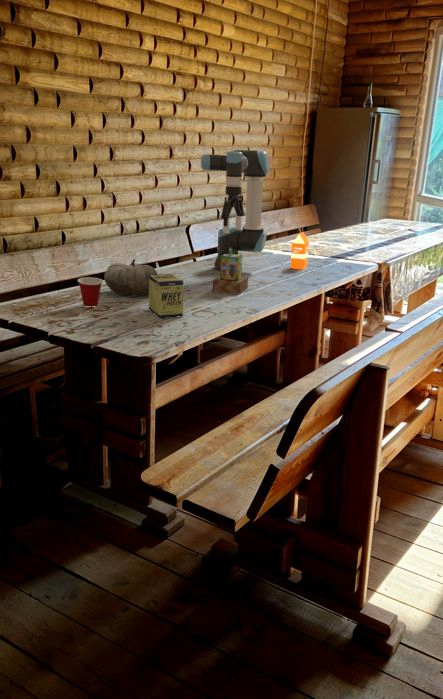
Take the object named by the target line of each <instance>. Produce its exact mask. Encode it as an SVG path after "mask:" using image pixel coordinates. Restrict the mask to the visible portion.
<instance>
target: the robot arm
mask: <svg viewBox="0 0 443 699" xmlns="http://www.w3.org/2000/svg"><path fill="white" fill-rule="evenodd" d="M269 159H270V158H269V155H268V153H267V152H266V151H265V150H256V149H255V150H252V149H251V150H249V149H248V150H247V149H237V150H230V151H225V152H223V153H218V154H217V153H215V154H209V153H206V154H205V153H204V154H202V156H201V158H200V166H201V169H202V170H203V171H214V172H216V171H217V172H218V171H219V172H221V171H222V172H226V173H225V185H226V186H225V195H228V196H225V197H224V202H223V207H222V210H221V211H222V212H221V216H220V218H221V219H222V220H223V221H222V222H223V223H222V225H223V226H222V228H220V229H219V230H218V233H217V255H216V258H215V260H214V265H213V268H214V270H217V271H220V270H221V256H222V255H224V254H230V253H231V251H230V253H229V249H230V248H231V249H232V253H233V254H237V255H239V252H250V253H261V252H262V251H263V250H264V249H265V244H266V240H267V231H265V230H264V229H265V228H264V226H263V225H262V213H263V212H262V211H263V210H262V208H263V207H262V206H263V205H262V204H263V185H264V179H266V177H267V175H268V174H269V173H270V160H269ZM243 173H244V174H243ZM243 175H244V178H245V179H246V199H245V203H246V204H245V211H244V205H243V204H244V203H243V200H242V199H243V198H242V188H243V187H242V184H243V182H242V181H243ZM233 208H234V211H235V213H236V216H235V226H230V215H231V213H232V209H233ZM244 216H245V224H244V225H243V226H242V217H244Z"/></svg>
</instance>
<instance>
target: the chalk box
mask: <svg viewBox="0 0 443 699" xmlns="http://www.w3.org/2000/svg"><path fill="white" fill-rule="evenodd" d="M230 251H231V253H230ZM229 253H230V254H224V255H222V256H221V270H219V271H220V273H219V274H220V275H219V276H220V280H237V281H238V280H239V279H240V278H242V277H243V276H242V274H243V254H238V255H237V254H233V253H232V249H231V248H230V249H229Z"/></svg>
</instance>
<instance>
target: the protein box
mask: <svg viewBox="0 0 443 699" xmlns="http://www.w3.org/2000/svg"><path fill="white" fill-rule="evenodd" d="M149 309H150V310H151V311H152V312H151V311H150V310H149ZM148 310H149V311H150V312H151V313H153V314H154V313H155V314H156V315H157V316H158V317H159V318H158V317H157V316H156V315H155V314H154V315H155V316H156V317H157V318H158V319H160V318H161V319H166V318H165V317H173V318H178V317H177V316H183V317H184V280H182V279H181V278H179V277H178V276H176V275H174V274H173V273H161V274H159V273H157V275H149V294H148Z"/></svg>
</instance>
